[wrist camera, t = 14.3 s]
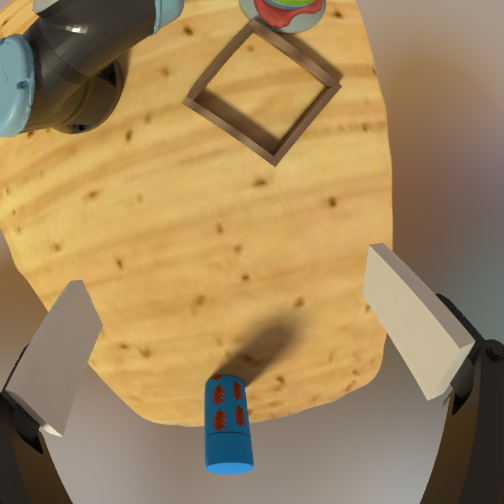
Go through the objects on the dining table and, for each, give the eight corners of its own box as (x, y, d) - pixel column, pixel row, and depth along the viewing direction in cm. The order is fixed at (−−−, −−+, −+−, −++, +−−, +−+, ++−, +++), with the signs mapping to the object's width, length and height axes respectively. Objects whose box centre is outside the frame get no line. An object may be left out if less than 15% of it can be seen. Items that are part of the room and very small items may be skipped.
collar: (183, 103, 37) (181, 102, 35) (251, 23, 32) (253, 18, 30) (272, 164, 43) (275, 167, 41) (335, 87, 38) (341, 86, 36)
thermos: (198, 378, 66) (197, 464, 44) (238, 371, 66) (246, 459, 44) (213, 398, 71) (215, 476, 49) (248, 392, 71) (258, 471, 49)
